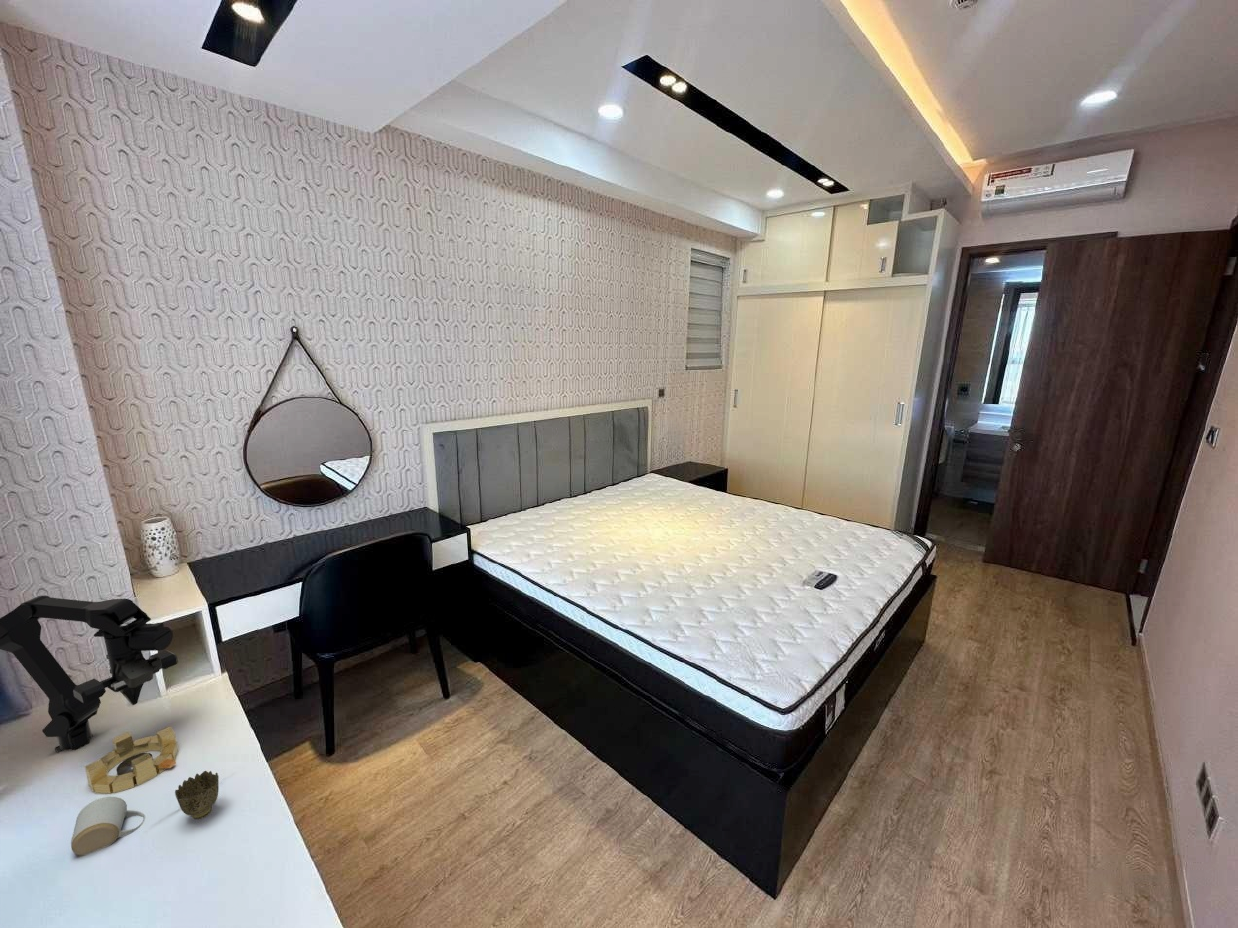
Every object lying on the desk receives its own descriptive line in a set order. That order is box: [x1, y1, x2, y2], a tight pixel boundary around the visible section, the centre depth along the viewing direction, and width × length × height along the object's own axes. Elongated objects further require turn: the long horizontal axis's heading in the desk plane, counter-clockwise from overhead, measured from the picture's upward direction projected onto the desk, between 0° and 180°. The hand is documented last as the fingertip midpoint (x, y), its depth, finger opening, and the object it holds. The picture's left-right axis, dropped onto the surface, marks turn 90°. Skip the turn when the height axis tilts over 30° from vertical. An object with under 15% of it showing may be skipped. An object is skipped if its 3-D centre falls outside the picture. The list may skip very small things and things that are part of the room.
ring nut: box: [84, 726, 179, 795], centre depth 124 cm, size 16×16×5 cm
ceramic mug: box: [70, 796, 146, 856], centre depth 107 cm, size 11×8×8 cm
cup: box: [174, 770, 220, 820], centre depth 113 cm, size 8×7×8 cm
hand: (134, 704), depth 131 cm, fingers closed
